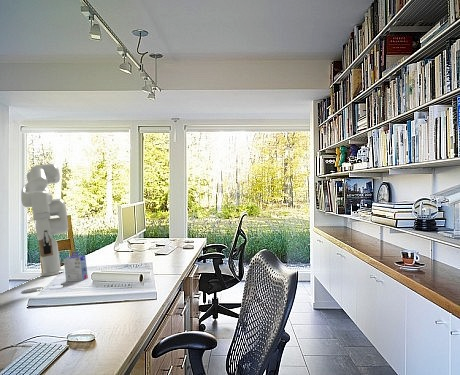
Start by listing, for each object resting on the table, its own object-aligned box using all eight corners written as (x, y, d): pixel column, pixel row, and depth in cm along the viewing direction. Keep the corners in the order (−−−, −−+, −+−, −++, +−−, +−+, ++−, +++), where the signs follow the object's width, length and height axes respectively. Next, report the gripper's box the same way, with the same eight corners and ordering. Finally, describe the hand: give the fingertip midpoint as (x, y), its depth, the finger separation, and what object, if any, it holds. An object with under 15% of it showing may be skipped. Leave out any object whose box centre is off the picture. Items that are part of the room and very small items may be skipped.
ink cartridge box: (88, 278, 239) (85, 250, 238) (83, 280, 233) (79, 252, 233) (71, 279, 241) (68, 252, 240) (65, 282, 235) (62, 254, 235)
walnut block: (40, 256, 226) (38, 240, 225) (51, 254, 228) (49, 238, 228) (42, 257, 221) (40, 240, 221) (53, 255, 224) (51, 238, 224)
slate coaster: (19, 291, 225) (19, 290, 225) (41, 286, 230) (41, 286, 230) (23, 294, 217) (23, 293, 217) (45, 289, 222) (45, 289, 222)
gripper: (30, 217, 229) (35, 253, 230) (36, 218, 215) (41, 256, 216) (46, 215, 233) (50, 250, 234) (53, 215, 219) (58, 253, 220)
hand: (46, 253), depth 225 cm, fingers closed on walnut block, 5 cm apart
